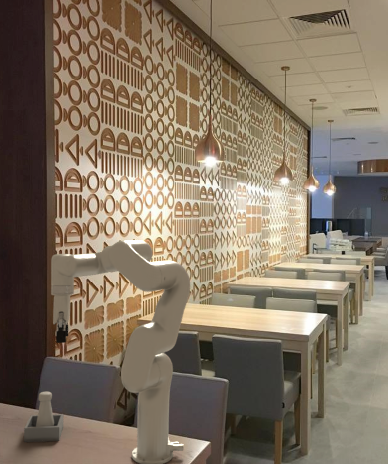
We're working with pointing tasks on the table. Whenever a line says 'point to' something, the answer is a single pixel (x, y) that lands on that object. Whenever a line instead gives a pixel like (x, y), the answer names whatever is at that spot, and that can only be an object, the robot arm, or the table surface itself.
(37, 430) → the tray
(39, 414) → the salt shaker
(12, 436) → the table surface
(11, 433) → the table surface
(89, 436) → the table surface
